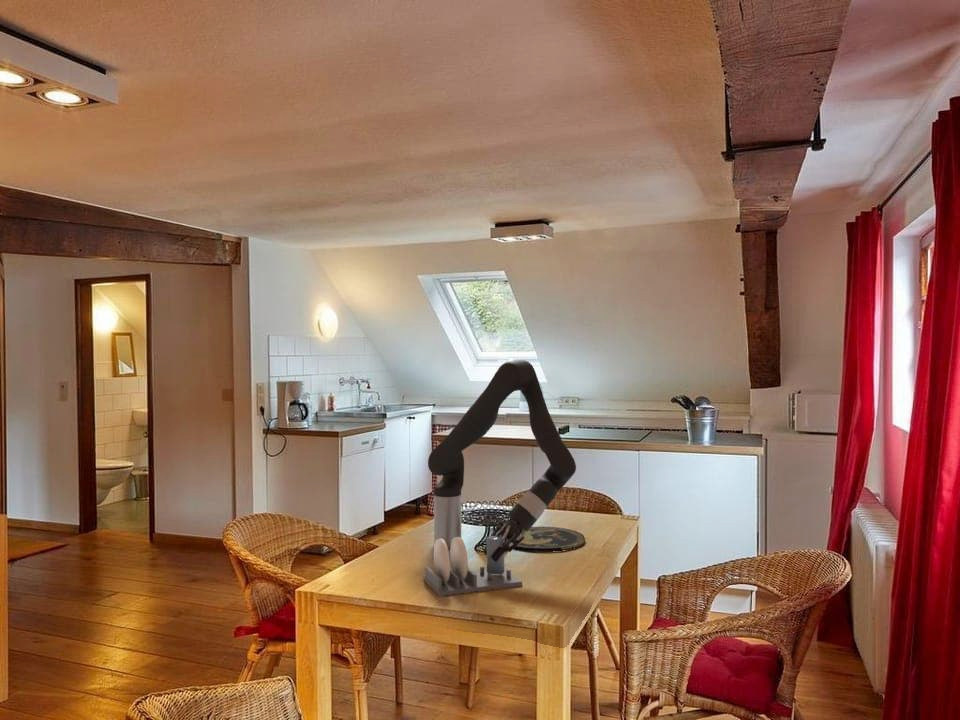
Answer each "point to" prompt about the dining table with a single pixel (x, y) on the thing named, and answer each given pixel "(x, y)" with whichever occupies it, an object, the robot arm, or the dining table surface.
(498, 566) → the grey dome-topped cylinder
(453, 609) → the dining table surface
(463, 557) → the dish rack
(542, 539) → the decorative plate
